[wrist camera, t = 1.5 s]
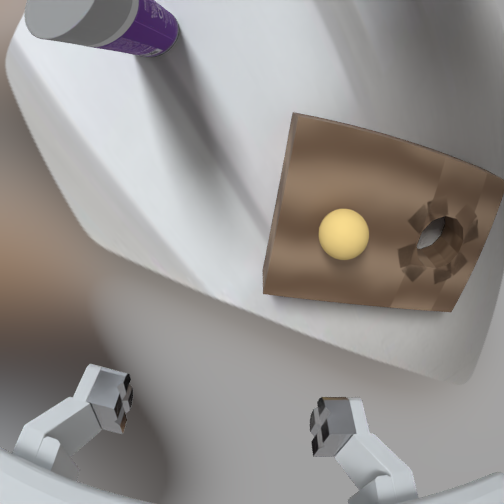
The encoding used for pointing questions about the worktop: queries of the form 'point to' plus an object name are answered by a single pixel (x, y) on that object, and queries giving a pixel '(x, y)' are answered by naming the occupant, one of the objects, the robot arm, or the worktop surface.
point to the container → (104, 24)
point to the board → (376, 218)
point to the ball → (343, 234)
